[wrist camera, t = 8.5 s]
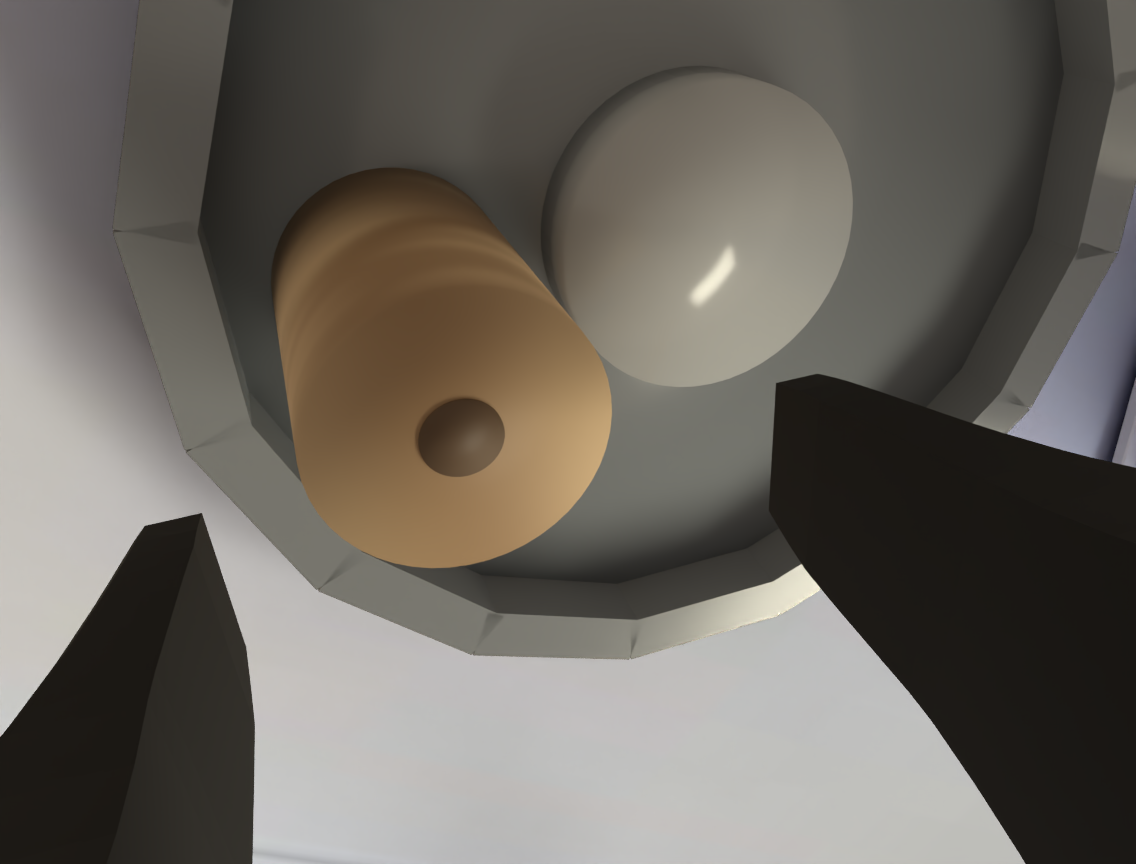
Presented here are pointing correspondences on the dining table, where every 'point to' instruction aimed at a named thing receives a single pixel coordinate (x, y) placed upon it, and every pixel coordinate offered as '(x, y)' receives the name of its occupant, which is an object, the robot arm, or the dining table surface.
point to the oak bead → (430, 374)
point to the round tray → (486, 120)
